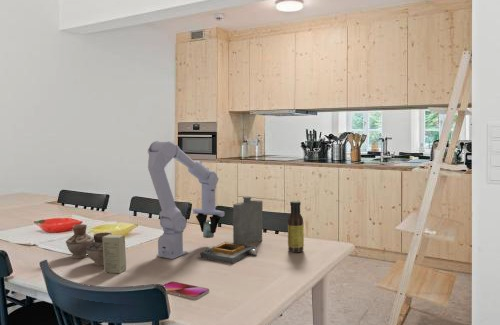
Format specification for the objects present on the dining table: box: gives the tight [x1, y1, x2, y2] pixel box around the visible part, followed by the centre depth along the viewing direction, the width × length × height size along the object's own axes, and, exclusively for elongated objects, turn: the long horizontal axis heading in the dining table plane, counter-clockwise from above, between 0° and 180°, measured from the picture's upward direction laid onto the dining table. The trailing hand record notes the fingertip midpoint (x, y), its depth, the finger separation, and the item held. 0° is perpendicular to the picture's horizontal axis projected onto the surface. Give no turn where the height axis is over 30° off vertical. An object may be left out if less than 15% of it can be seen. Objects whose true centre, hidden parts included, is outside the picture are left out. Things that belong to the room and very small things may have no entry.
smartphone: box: [163, 281, 210, 300], centre depth 120 cm, size 7×1×15 cm
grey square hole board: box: [200, 241, 258, 264], centre depth 156 cm, size 18×17×3 cm
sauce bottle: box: [287, 200, 305, 253], centre depth 161 cm, size 6×6×20 cm
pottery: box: [65, 223, 113, 267], centre depth 149 cm, size 11×25×12 cm, turn 55°
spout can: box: [202, 219, 215, 239], centre depth 169 cm, size 4×4×7 cm
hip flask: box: [232, 195, 263, 245], centre depth 174 cm, size 16×4×20 cm, turn 133°
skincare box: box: [102, 234, 127, 274], centre depth 137 cm, size 6×4×12 cm
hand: (208, 232), depth 169 cm, fingers closed on spout can, 4 cm apart
